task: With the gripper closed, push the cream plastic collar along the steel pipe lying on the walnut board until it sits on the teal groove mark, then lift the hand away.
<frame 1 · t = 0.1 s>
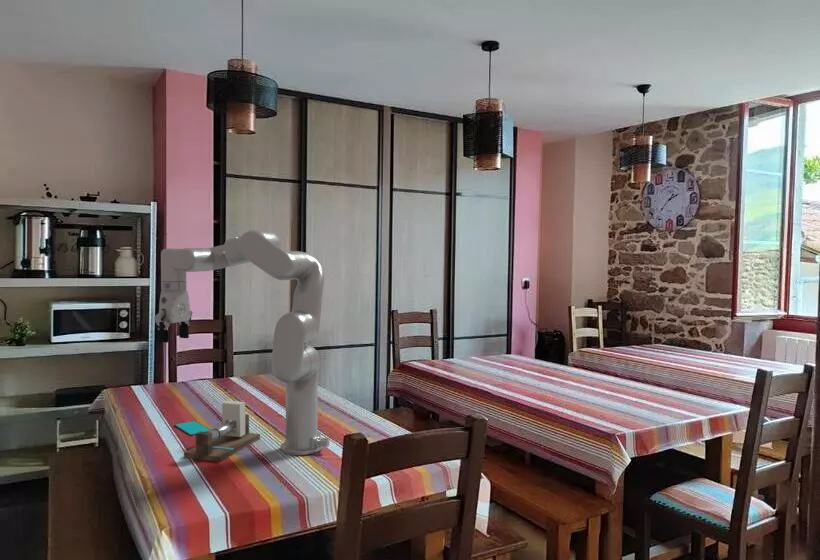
hand: (174, 340, 190), 31 cm above the table, tool pointing down, fingers open, 9 cm apart
smartphone: (193, 430, 199), on the table
collar: (233, 418, 185), point 7 cm above the table, slide at 0.0 cm
pipe rig: (223, 447, 180), on the table
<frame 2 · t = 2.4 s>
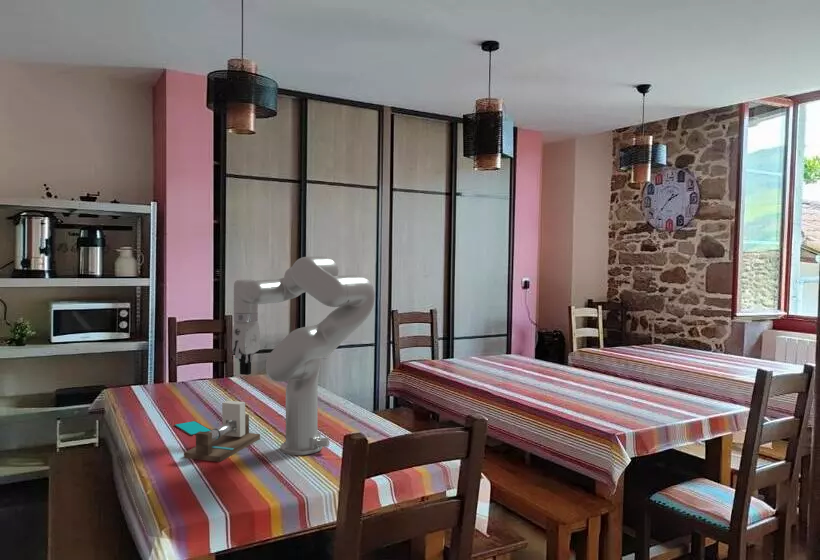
hand: (245, 374, 191), 20 cm above the table, tool pointing down, fingers closed
nothing on the table moved.
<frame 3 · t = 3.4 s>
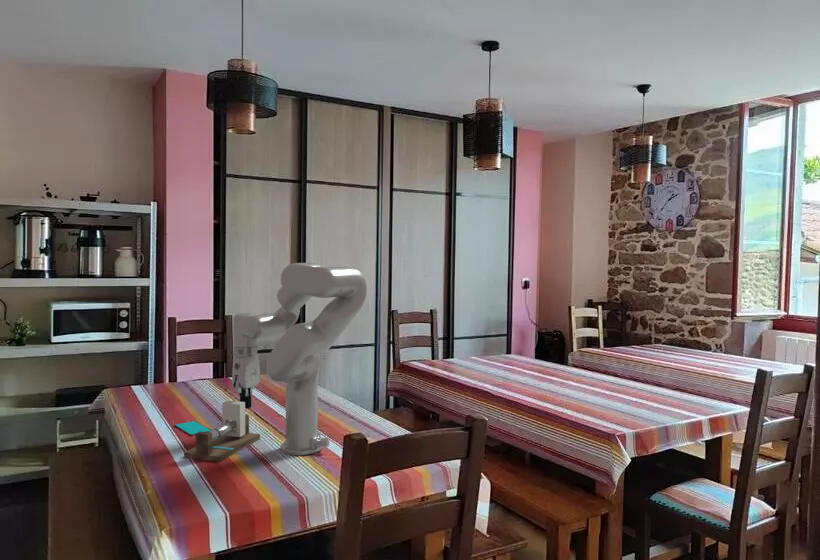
hand: (245, 407, 191), 9 cm above the table, tool pointing down, fingers closed
nothing on the table moved.
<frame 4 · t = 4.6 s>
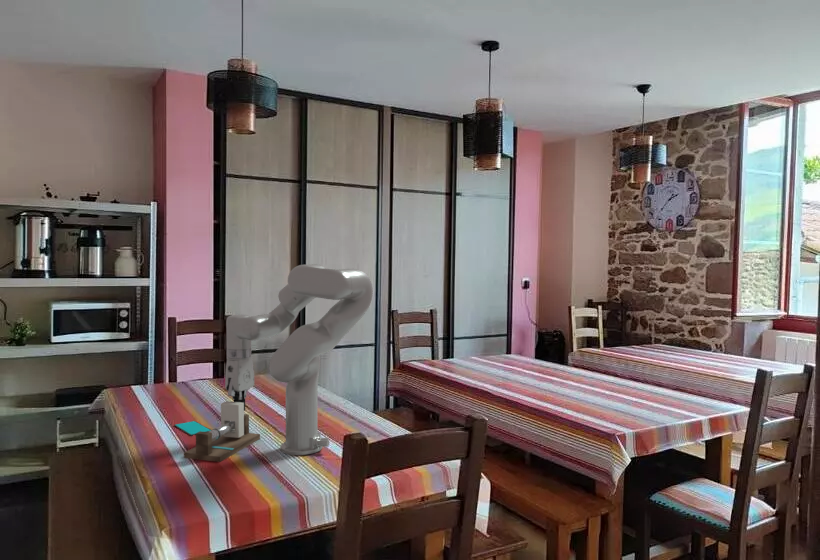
hand: (239, 411, 188), 9 cm above the table, tool pointing down, fingers closed
collar: (232, 419, 184), point 8 cm above the table, slide at 0.8 cm, touching gripper
everything else where it was.
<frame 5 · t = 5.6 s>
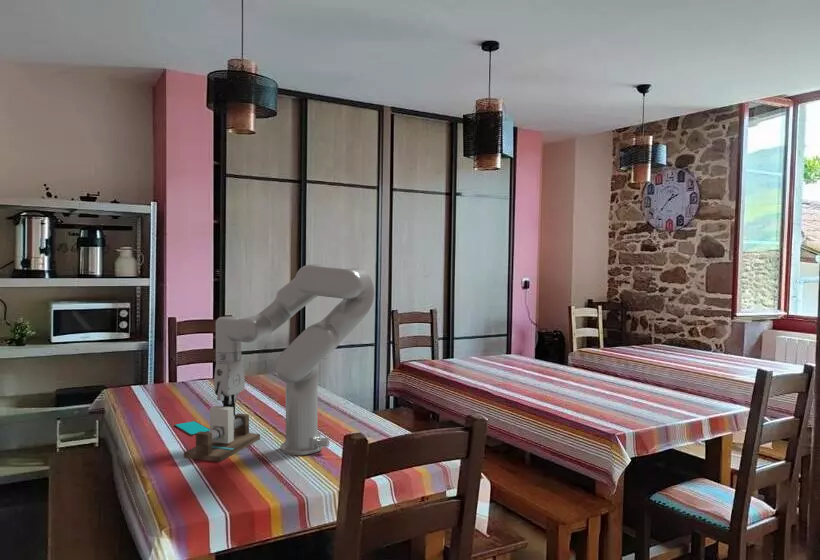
hand: (229, 415, 182), 9 cm above the table, tool pointing down, fingers closed
collar: (221, 424, 178), point 7 cm above the table, slide at 6.6 cm, touching gripper
everything else where it was.
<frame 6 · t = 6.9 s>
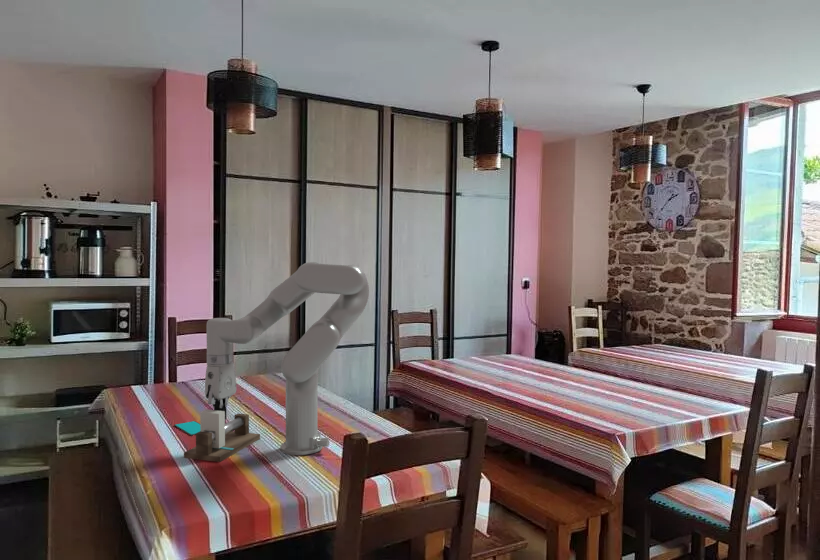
hand: (220, 419, 178), 9 cm above the table, tool pointing down, fingers closed
collar: (212, 428, 174), point 7 cm above the table, slide at 11.2 cm, touching gripper
everything else where it was.
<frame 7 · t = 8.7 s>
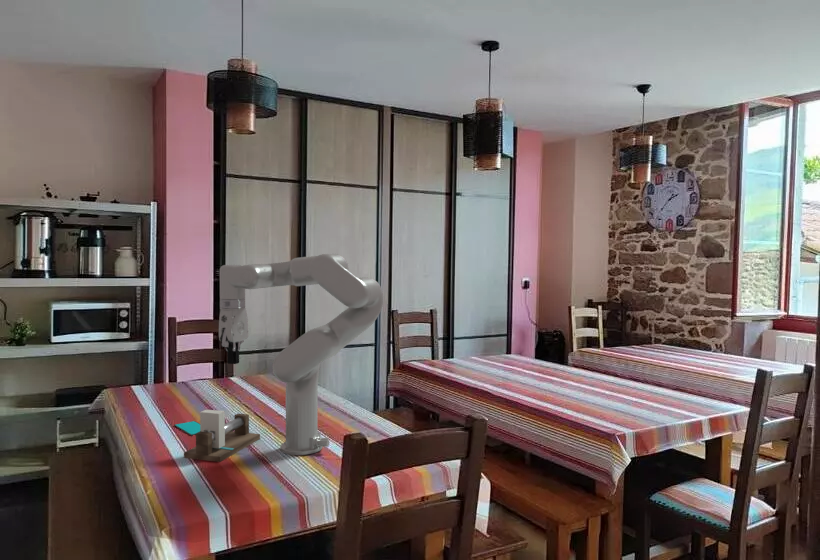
hand: (233, 363, 184), 25 cm above the table, tool pointing down, fingers closed
collar: (212, 428, 174), point 7 cm above the table, slide at 11.2 cm
everything else where it was.
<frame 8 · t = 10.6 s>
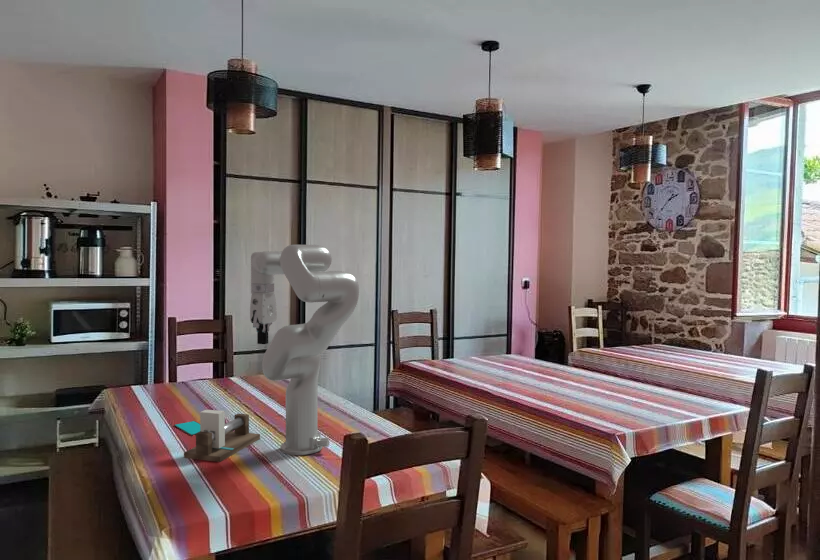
hand: (262, 343, 197), 29 cm above the table, tool pointing down, fingers closed
nothing on the table moved.
at the end: collar slide at 11.2 cm; smartphone moved 0.6 cm from its start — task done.
